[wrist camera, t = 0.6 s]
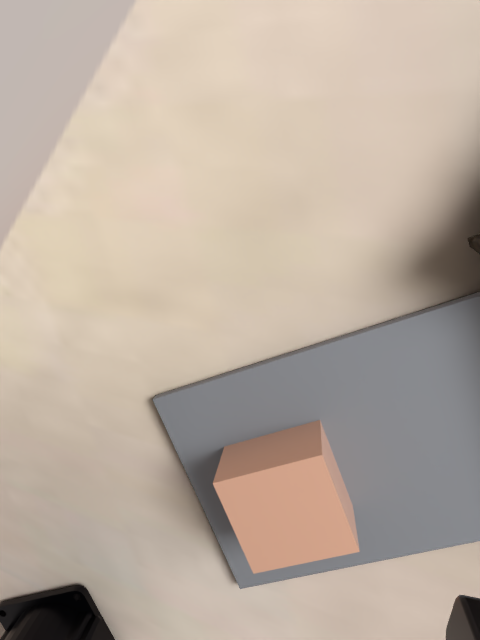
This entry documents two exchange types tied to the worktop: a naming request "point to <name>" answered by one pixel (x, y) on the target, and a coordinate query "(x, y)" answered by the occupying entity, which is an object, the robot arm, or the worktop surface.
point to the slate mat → (356, 431)
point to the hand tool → (475, 242)
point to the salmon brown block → (286, 498)
